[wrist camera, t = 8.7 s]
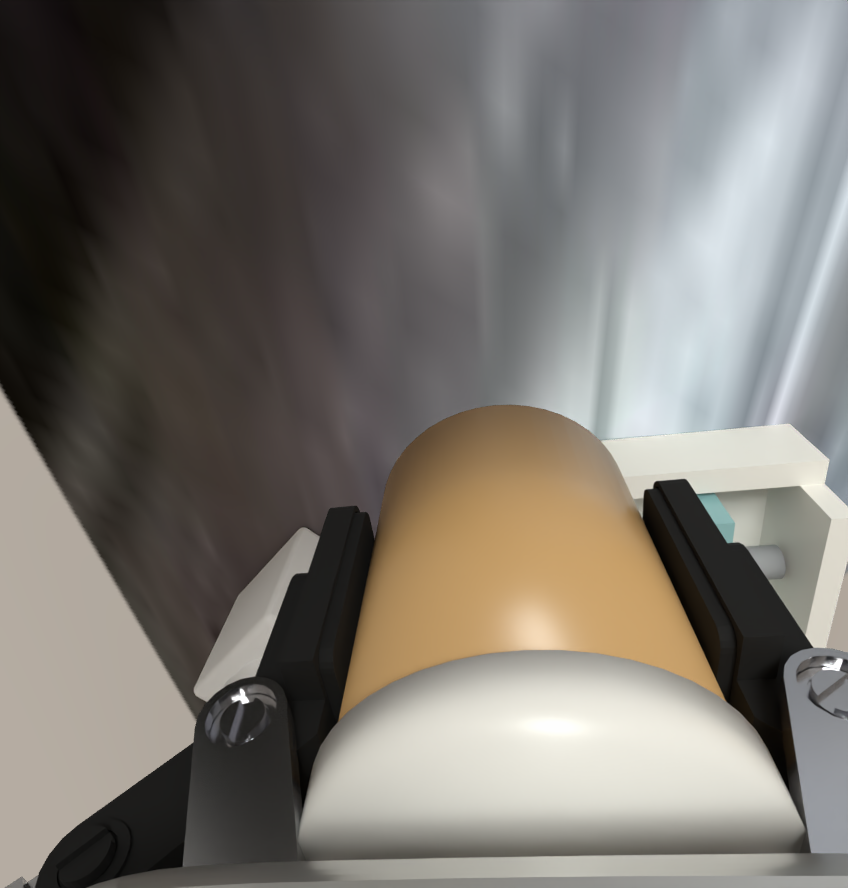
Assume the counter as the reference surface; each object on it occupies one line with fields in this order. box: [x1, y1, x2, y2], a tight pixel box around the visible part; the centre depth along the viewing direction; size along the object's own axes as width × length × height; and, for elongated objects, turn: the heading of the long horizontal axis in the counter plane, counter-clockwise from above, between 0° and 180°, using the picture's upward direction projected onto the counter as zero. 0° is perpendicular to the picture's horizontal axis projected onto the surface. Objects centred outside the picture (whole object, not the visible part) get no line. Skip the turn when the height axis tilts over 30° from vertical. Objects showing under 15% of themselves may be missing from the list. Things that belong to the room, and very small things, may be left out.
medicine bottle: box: [194, 527, 320, 702], centre depth 30 cm, size 7×7×12 cm
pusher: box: [697, 493, 786, 580], centre depth 28 cm, size 8×4×4 cm, turn 8°
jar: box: [298, 405, 806, 861], centre depth 10 cm, size 6×6×8 cm
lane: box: [601, 424, 848, 648], centre depth 29 cm, size 11×19×6 cm, turn 98°
